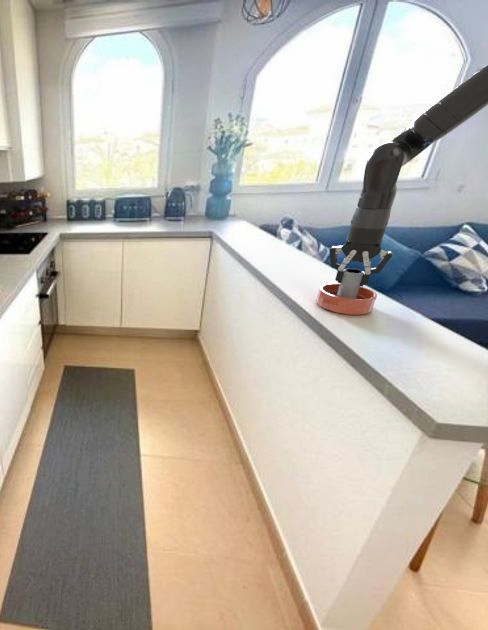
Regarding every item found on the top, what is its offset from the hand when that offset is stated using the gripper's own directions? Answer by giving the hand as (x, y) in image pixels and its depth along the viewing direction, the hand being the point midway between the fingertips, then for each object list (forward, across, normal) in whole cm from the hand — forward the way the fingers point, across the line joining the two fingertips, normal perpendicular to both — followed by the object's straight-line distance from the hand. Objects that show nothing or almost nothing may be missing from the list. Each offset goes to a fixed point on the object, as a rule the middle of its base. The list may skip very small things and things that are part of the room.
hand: (350, 283), depth 99 cm
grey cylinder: (+7, 0, 0) cm, 7 cm away
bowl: (+7, 0, 0) cm, 7 cm away
